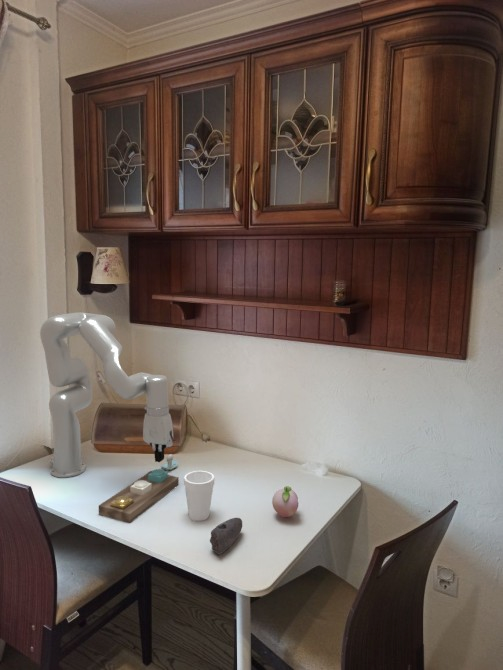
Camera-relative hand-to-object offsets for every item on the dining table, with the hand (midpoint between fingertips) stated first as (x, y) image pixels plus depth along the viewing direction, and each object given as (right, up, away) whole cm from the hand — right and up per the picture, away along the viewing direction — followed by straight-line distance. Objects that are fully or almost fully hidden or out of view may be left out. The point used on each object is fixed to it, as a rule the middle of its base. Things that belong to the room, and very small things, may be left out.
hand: (159, 460), depth 169 cm
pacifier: (0, -8, +17) cm, 18 cm away
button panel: (-5, -11, -7) cm, 14 cm away
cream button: (-5, -9, -8) cm, 13 cm away
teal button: (-1, -8, +1) cm, 8 cm away
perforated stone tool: (+26, -16, -32) cm, 44 cm away
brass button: (-9, -11, -17) cm, 22 cm away
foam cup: (+16, -13, -17) cm, 27 cm away
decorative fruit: (+43, -14, -17) cm, 48 cm away
